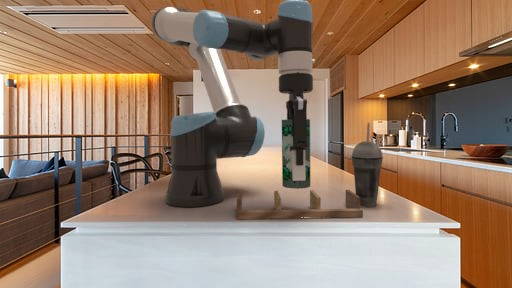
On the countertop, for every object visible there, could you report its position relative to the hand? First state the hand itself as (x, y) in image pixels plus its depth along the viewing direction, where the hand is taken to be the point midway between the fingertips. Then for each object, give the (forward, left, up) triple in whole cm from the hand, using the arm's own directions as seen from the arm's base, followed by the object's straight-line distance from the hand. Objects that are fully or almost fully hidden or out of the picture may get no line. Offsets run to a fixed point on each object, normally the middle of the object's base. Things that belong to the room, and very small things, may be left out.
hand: (296, 177), depth 69 cm
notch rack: (0, 0, -8) cm, 8 cm away
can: (0, 0, -2) cm, 2 cm away
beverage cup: (+14, +13, -8) cm, 20 cm away
